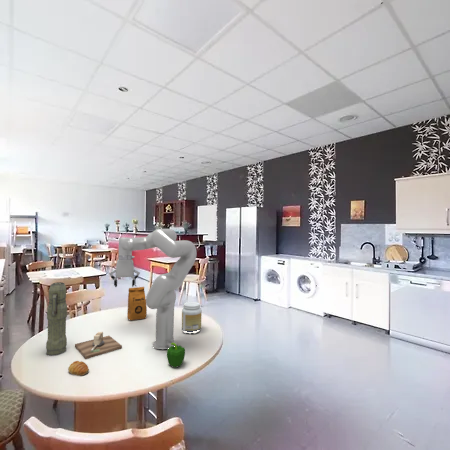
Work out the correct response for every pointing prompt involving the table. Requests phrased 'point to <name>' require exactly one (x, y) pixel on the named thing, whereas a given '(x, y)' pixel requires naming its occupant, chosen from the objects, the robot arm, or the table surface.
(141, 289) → the coffee package
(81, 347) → the wooden board
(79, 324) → the table surface
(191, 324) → the supplement tub
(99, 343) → the knob
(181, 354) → the bell pepper
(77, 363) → the pastry
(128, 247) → the robot arm
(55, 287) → the thermos
